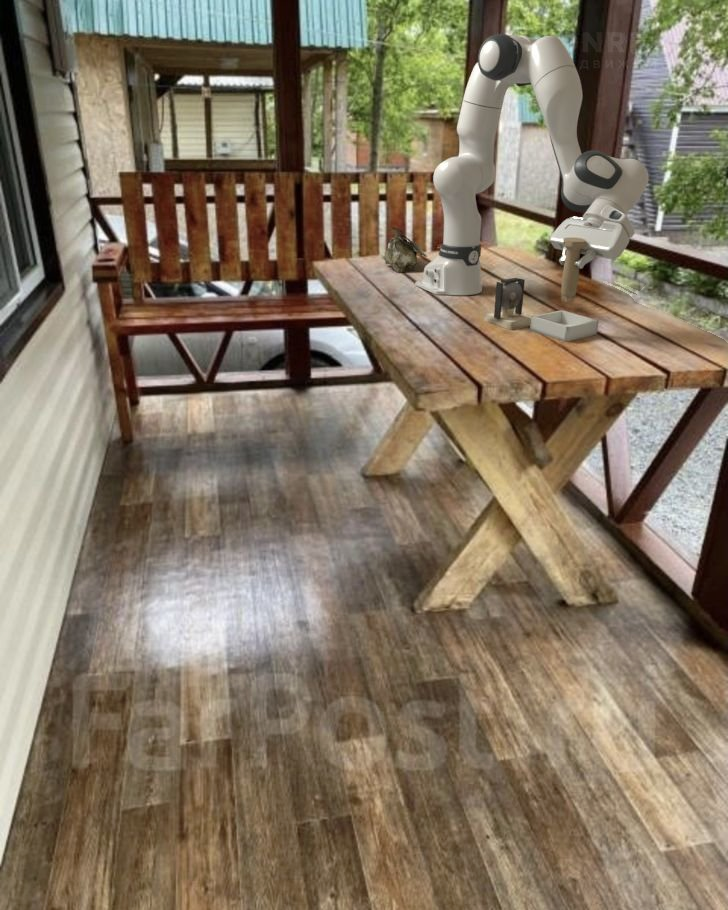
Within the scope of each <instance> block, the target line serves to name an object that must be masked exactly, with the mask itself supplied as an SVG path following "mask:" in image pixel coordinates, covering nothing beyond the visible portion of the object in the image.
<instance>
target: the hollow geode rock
mask: <svg viewBox="0 0 728 910" xmlns="http://www.w3.org/2000/svg"><path fill="white" fill-rule="evenodd" d="M390 229H391V230H392V231H393V233H395V235H394V236H392V237H390V240H388V241H387V243H388V244H387V248H386V250H385V252H384V256H383V259H384V261H385V262H384V263H385V264H386V265H390V266H391V267H392V269H393V270H394V272H396V273H405V272H410V271H411V272H412V271H414V270H415V269H414V268H415V266H416V265H417V264H418V260H419V259H418V256H417V255H418V254H419V255H420V256H423V257H428V255H427V254H426V253H425V252H424V251H423V250H422V249H421V248H420V245H419V244H418V243H416V242H413V241H412V240H411V239H409V238H408V237H407V236H405V235H404V233H403V232H401V230H399V229H398V228H396V227H394V226H393V227H392V226H390Z"/></svg>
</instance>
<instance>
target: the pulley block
mask: <svg viewBox="0 0 728 910" xmlns="http://www.w3.org/2000/svg"><path fill="white" fill-rule="evenodd" d="M525 280H526V279H523V278H520V277H519V278H518V277H511V278H505V279H500V282H499V281H497V282H496V286H495V287H496V288H495V300H494V311H493V312H488V313H484V322H486V323H488V324H490V325H491V324H492V325H496V326H498V327H501V328H505V329H507V330H511V331H512V330H516V329H521V328H526V327H527V328H528V327H530V324H531V317H527V316H525V315H522V312H523V305H524V303H523V301H524V293H525V291H524V290H525V282H526V281H525Z"/></svg>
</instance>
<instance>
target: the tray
mask: <svg viewBox="0 0 728 910" xmlns="http://www.w3.org/2000/svg"><path fill="white" fill-rule="evenodd" d="M530 318H531V324H530V326H529V331H531V332H535V333H537V334H540V335H544V336H547V337H550V338H553V339H556V340H560V341H562V342H570V341H571V342H572V341H574V340H579V339H583V338H587V337H591V336H596V335H598V329H599V320H598V319H594V318H591V317H588V316H584V315H580V314H576V313H574V312H569V311H566V310H562V309H561V310H557V311H551V312H546V313H541V314H536V315H533V316H531V317H530Z"/></svg>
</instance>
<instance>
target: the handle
mask: <svg viewBox="0 0 728 910" xmlns="http://www.w3.org/2000/svg"><path fill="white" fill-rule="evenodd" d="M585 243H586V240H585V239H582V238H574V237H570V238H564V241H563V245H564V247H566V249H567V250H566V257H565V264H564V265H563V271H562V276H561V287H560V288H561V289H560V290H561V291H560V292H561V296H560V297H561V298H560V299H561V302H563V303H573V302H574V301H575V299H576V294H577V290H578V286H579V285H578V283H579V274H580V268H576V266H575V262H576V261H577V259H578V258H580V257H581V253H580V250H581V248H583V247H584V246H585ZM580 259H581V258H580Z"/></svg>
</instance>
